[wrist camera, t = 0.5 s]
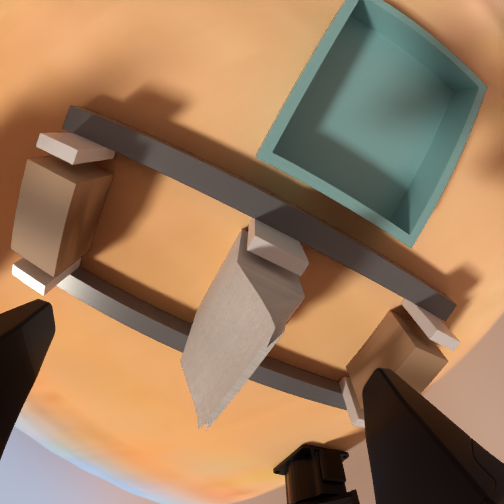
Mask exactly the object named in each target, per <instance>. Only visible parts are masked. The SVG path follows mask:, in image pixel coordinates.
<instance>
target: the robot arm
mask: <svg viewBox="0 0 504 504" xmlns="http://www.w3.org/2000/svg"><path fill="white" fill-rule="evenodd" d="M54 334H55V321H54V315H53V309H52V305H51V304H50V303H49V302H46V301H43V300H41V299H37V300H34V301H31V302H29V303H26V304H24V305H21V306H19V307H16V308H14V309H11V310H9V311H6V312H4V313H1V314H0V459H1V457H2V454H3V451H4V449H5V446H6V444H7V441H8V439H9V436H10V434H11V432H12V429H13V427H14V425H15V422H16V420H17V418H18V416H19V413H20V411H21V409H22V407H23V405H24V403H25V401H26V398H27V396H28V394H29V392H30V390H31V388H32V386H33V384H34V382H35V380H36V378H37V376H38V373H39V371H40V368H41V366H42V363H43V361H44V358H45V356H46V353H47V351H48V348H49V346H50V344H51V341H52V339H53V337H54ZM362 399H363V410H364V422H365V435H366V443H367V448H368V454H369V460H370V466H371V473H372V479H373V485H374V493H375V500H376V504H504V463H502V462H501V461H499V460H498V459H497V458H495V457H494V456H493V455H491V454H490V453H489V452H488V451H486V450H485V449H484V448H483V447H482V446H480V445H479V444H478V443H477V442H476V441H474V440H473V439H472V438H470V436H468V435H467V434H466V433H465V432H464V431H463V430H461V429H460V428H459V427H458V426H457V425H456V424H454V423H453V422H452V421H451V420H450V419H449V418H447V417H446V416H445V415H444V414H442V412H440V411H439V410H438V409H437V408H436V407H435V406H433V405H432V404H431V403H430V402H429V401H428V400H426V399H425V398H424V397H423V396H422V395H421V394H419V393H418V392H417V391H416V390H415V389H414V388H412V387H411V386H410V385H409V384H408V383H407V382H405V381H404V380H403V379H402V378H401V377H400V376H398V375H397V374H396V373H395V372H394V371H393V370H391V369H390V368H380V367H379V368H376V369H375V370H374V371H373V373H372V374H371V376H370V378H369V379H368V381H367V382H366V384H365V385H364V387H363V390H362ZM348 457H349V454H348V452H343V451H337V450H331V449H325V448H320V447H315V446H310V445H302V446H300V447H299V448H298V449H297V450H296V451H295V452H293V453H292V454H291V455H290V456H289V457H288V458H286V459H285V460H284V461H283V462H282V463H280V464H279V465H278V466H277V467H275V468H274V469H273V471H274V473H275V474H280V475H285V482H286V496H287V504H360V503H359V500H358V495H357V491H356V490H352V491H351V492H346V487H345V482H346V478H345V473H344V468H343V464H342V462H343V461H344V460H345V459H347V458H348Z"/></svg>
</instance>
